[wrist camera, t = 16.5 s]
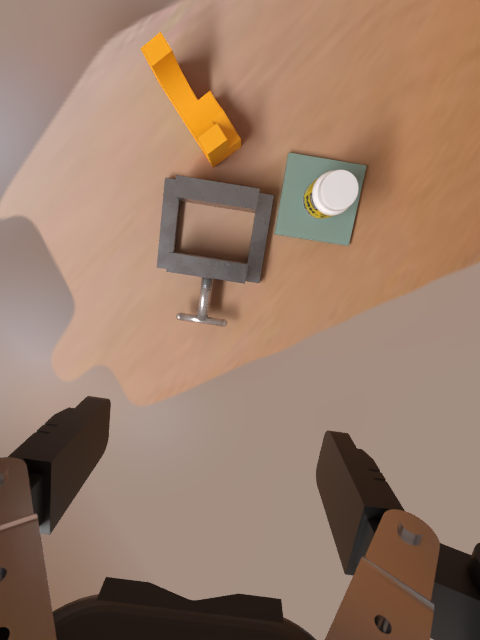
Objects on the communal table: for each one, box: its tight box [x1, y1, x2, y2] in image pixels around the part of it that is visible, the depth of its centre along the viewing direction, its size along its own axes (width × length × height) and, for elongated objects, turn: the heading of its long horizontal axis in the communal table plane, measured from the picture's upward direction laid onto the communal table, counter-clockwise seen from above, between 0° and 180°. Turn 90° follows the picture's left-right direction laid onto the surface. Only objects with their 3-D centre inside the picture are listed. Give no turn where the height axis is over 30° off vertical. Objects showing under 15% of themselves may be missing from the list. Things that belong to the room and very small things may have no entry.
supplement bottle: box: [303, 170, 359, 219], centre depth 37 cm, size 5×5×8 cm
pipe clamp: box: [141, 32, 241, 167], centre depth 37 cm, size 12×4×6 cm, turn 34°
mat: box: [275, 153, 367, 246], centre depth 42 cm, size 10×10×1 cm
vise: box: [157, 175, 274, 327], centre depth 42 cm, size 14×18×4 cm
